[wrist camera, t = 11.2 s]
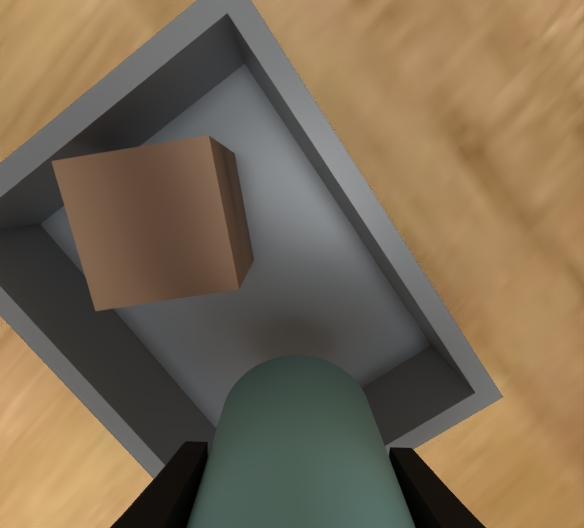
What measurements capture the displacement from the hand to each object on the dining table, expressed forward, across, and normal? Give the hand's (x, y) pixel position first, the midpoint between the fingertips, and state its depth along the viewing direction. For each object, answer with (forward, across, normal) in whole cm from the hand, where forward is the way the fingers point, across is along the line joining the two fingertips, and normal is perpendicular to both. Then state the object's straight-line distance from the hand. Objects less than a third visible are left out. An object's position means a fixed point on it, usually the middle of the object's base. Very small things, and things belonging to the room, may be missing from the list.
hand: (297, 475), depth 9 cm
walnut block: (+8, +5, -6) cm, 11 cm away
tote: (+9, +3, -3) cm, 10 cm away
